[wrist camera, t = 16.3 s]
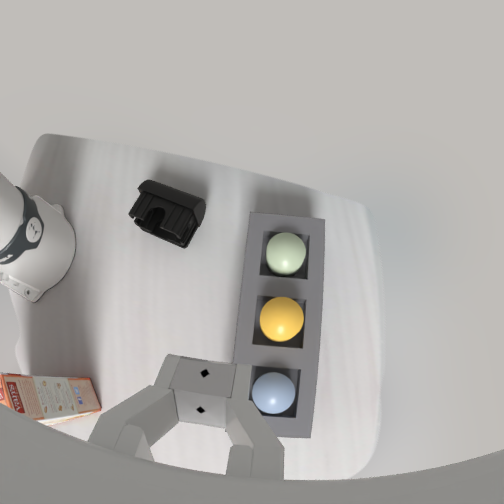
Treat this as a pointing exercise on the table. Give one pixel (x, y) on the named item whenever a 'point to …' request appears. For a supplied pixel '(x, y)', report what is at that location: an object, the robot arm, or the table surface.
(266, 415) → the button console
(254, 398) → the slate button
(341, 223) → the table surface
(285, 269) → the sage button
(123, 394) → the table surface
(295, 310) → the amber button
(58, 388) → the cracker box
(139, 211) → the end cap
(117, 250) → the table surface
